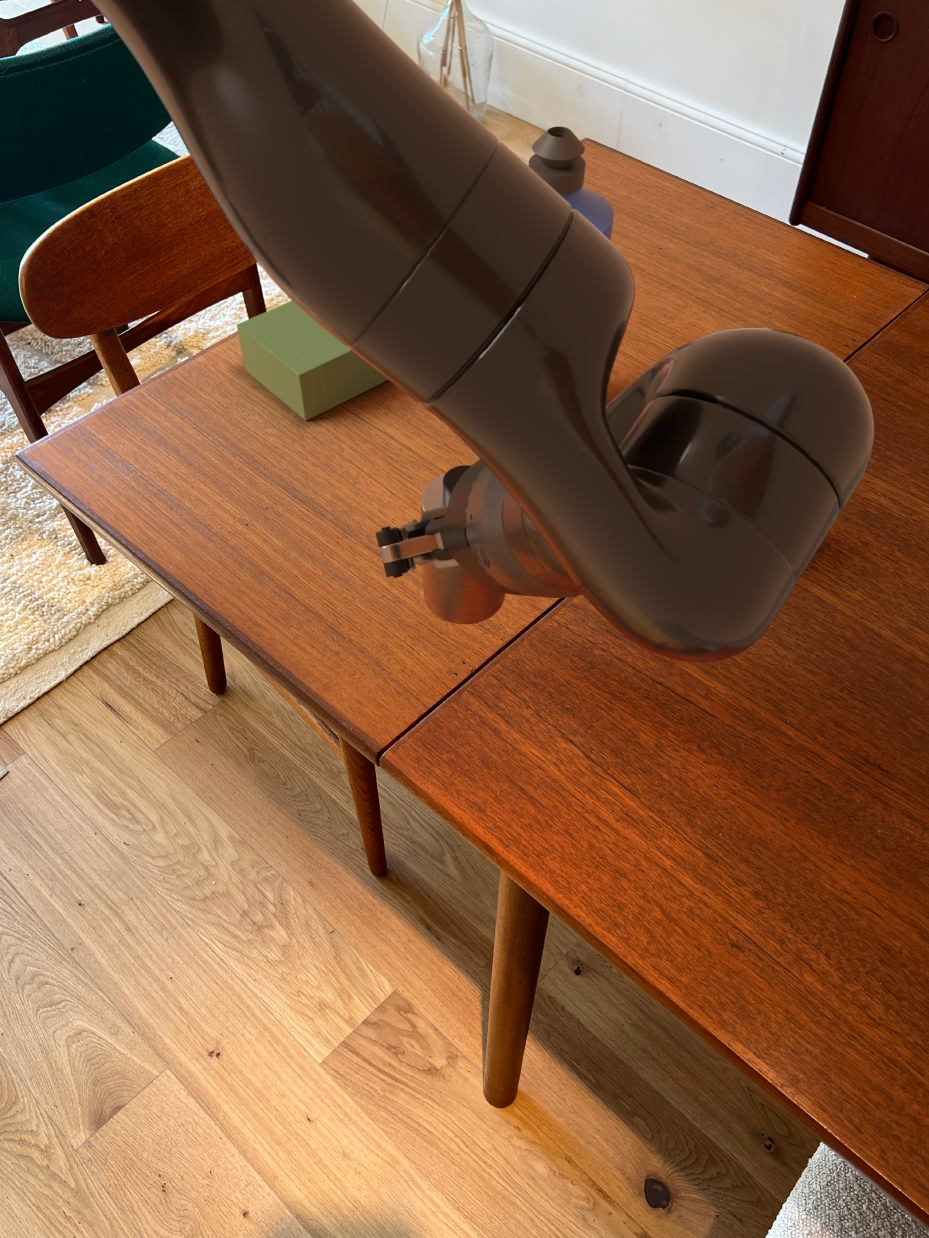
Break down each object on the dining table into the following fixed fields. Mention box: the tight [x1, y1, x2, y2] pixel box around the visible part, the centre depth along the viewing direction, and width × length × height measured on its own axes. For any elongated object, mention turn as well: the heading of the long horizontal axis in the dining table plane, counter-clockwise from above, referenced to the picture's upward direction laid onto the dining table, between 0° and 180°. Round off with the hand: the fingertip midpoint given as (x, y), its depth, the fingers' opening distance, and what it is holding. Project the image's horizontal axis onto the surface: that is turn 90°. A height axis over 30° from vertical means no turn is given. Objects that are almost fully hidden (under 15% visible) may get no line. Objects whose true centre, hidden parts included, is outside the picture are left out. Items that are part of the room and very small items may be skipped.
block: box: [236, 300, 389, 422], centre depth 93 cm, size 10×10×5 cm
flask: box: [420, 464, 506, 625], centre depth 62 cm, size 5×5×10 cm
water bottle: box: [528, 126, 615, 242], centre depth 82 cm, size 9×9×25 cm
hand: (454, 530), depth 64 cm, fingers closed on flask, 5 cm apart
